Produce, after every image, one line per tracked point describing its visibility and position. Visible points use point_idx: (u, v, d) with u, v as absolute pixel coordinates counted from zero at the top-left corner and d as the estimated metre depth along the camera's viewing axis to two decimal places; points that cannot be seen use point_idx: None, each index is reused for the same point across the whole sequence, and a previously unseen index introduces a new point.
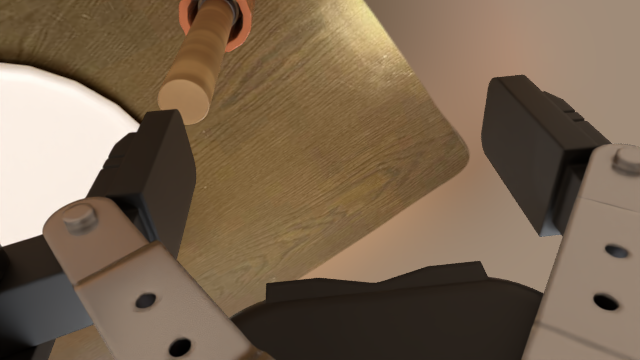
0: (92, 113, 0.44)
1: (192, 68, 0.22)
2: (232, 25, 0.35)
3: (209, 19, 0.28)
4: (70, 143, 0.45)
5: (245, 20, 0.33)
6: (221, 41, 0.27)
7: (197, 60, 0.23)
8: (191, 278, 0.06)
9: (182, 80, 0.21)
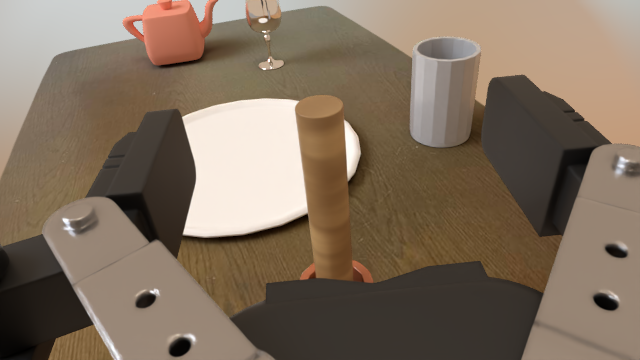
0: (283, 209, 0.48)
1: (340, 135, 0.23)
2: None
3: (348, 245, 0.28)
4: (268, 187, 0.51)
5: None
6: (330, 228, 0.26)
7: (340, 154, 0.23)
8: (191, 278, 0.06)
9: (339, 108, 0.22)
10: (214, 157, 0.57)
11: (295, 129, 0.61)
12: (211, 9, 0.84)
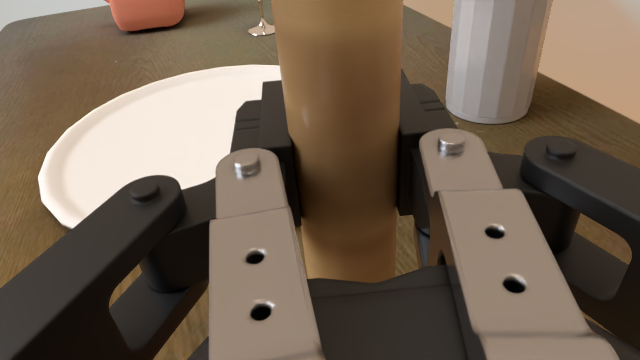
0: None
1: None
2: None
3: None
4: None
5: None
6: (351, 244, 0.10)
7: (390, 31, 0.08)
8: (299, 253, 0.06)
9: None
10: (179, 135, 0.42)
11: None
12: None
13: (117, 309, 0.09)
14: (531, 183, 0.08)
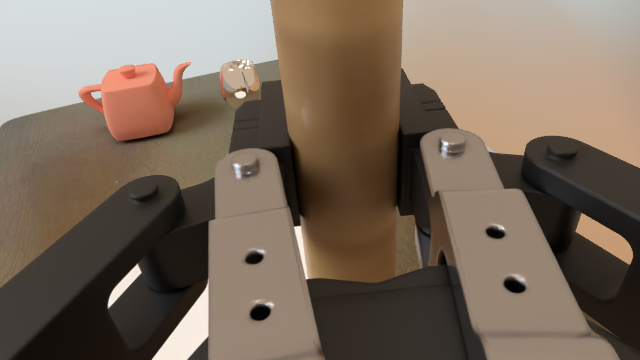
0: None
1: None
2: None
3: None
4: None
5: None
6: (352, 244, 0.10)
7: (389, 32, 0.08)
8: (298, 253, 0.06)
9: None
10: None
11: None
12: (180, 75, 0.74)
13: (116, 309, 0.09)
14: (532, 183, 0.08)
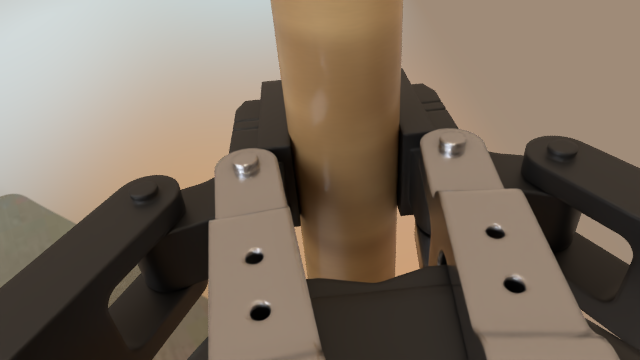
0: None
1: None
2: None
3: None
4: None
5: None
6: (352, 244, 0.10)
7: (389, 31, 0.08)
8: (298, 254, 0.06)
9: None
10: None
11: None
12: None
13: (116, 309, 0.09)
14: (532, 183, 0.08)
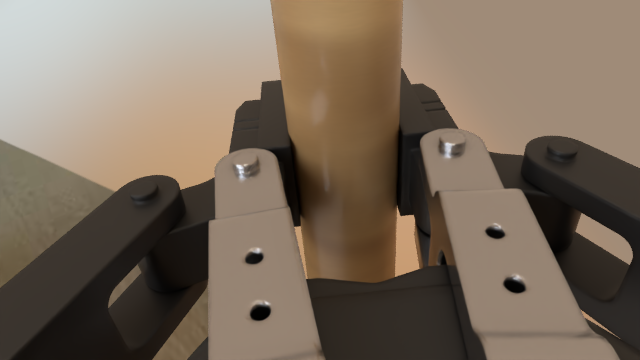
0: None
1: None
2: None
3: None
4: None
5: None
6: (351, 244, 0.10)
7: (389, 31, 0.08)
8: (298, 254, 0.06)
9: None
10: None
11: None
12: None
13: (116, 309, 0.09)
14: (532, 183, 0.08)
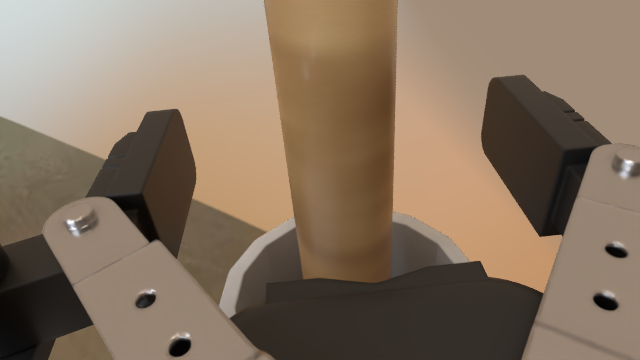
0: None
1: None
2: None
3: None
4: None
5: None
6: (347, 253, 0.11)
7: (384, 45, 0.08)
8: (191, 278, 0.06)
9: None
10: None
11: None
12: None
13: None
14: None
